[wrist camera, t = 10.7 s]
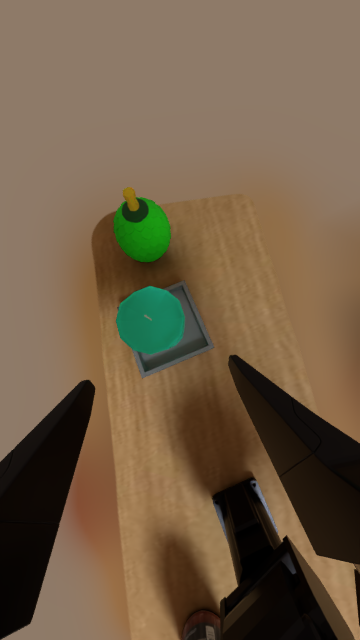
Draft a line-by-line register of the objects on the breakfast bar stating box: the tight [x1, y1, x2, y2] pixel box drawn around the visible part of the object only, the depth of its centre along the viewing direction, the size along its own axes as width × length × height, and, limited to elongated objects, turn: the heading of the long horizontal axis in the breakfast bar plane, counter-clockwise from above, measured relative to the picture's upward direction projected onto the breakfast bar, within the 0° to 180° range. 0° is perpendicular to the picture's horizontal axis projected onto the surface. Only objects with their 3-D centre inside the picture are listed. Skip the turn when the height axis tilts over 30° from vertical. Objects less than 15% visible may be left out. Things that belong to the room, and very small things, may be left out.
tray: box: [117, 280, 214, 378], centre depth 22 cm, size 11×11×2 cm
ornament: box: [113, 187, 171, 262], centre depth 20 cm, size 8×8×10 cm
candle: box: [116, 286, 185, 355], centre depth 17 cm, size 6×6×12 cm
